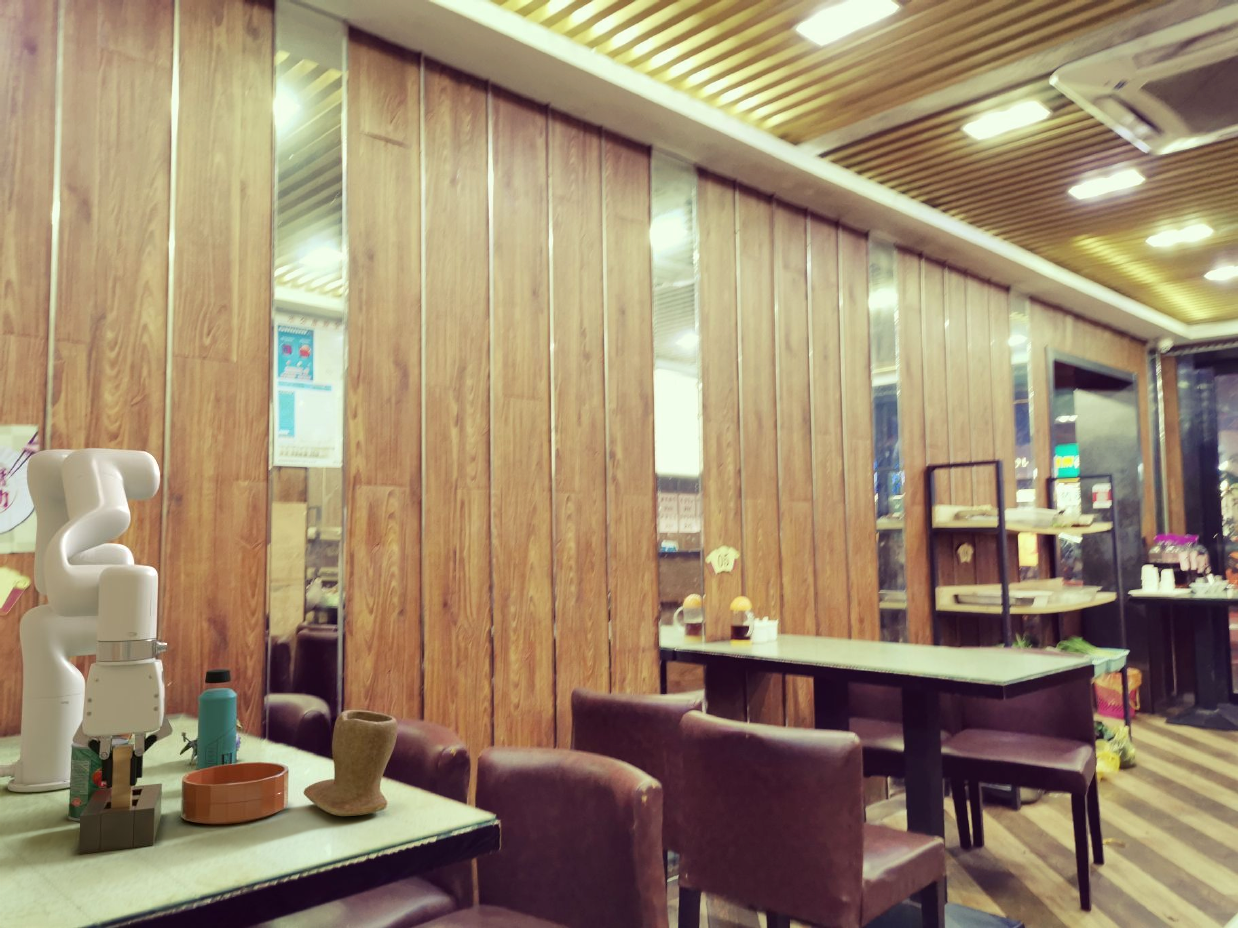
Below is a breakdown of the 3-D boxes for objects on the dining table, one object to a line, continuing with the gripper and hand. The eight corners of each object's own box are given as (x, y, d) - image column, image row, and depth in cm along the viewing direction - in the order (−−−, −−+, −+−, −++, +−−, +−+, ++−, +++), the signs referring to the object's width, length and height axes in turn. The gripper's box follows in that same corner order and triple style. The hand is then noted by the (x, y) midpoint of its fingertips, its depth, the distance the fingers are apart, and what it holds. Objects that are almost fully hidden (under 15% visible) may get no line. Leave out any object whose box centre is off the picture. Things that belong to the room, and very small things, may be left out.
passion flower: (232, 789, 179) (247, 743, 175) (171, 785, 174) (185, 738, 170) (234, 747, 189) (249, 702, 184) (177, 742, 184) (190, 696, 180)
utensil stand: (78, 854, 124) (79, 815, 124) (93, 824, 138) (95, 789, 138) (153, 845, 127) (154, 807, 128) (160, 816, 141) (162, 783, 142)
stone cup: (407, 813, 141) (408, 712, 142) (329, 826, 134) (331, 721, 136) (374, 793, 154) (375, 701, 155) (301, 804, 147) (303, 708, 148)
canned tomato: (115, 819, 140) (118, 745, 141) (59, 822, 139) (62, 747, 140) (133, 805, 148) (136, 735, 149) (80, 808, 147) (83, 737, 148)
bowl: (178, 832, 133) (179, 789, 134) (183, 806, 147) (184, 767, 147) (290, 819, 139) (291, 778, 139) (284, 795, 153) (285, 758, 153)
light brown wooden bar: (109, 844, 128) (113, 748, 129) (111, 839, 130) (115, 745, 131) (129, 842, 129) (132, 746, 130) (130, 837, 131) (134, 743, 132)
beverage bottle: (221, 792, 155) (224, 671, 157) (186, 791, 157) (189, 671, 159) (244, 783, 162) (246, 667, 164) (210, 782, 163) (213, 667, 165)
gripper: (189, 647, 139) (185, 773, 137) (66, 653, 132) (60, 785, 130) (187, 651, 132) (183, 784, 130) (57, 658, 125) (51, 797, 124)
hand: (121, 783), depth 130 cm, fingers closed on light brown wooden bar, 2 cm apart
